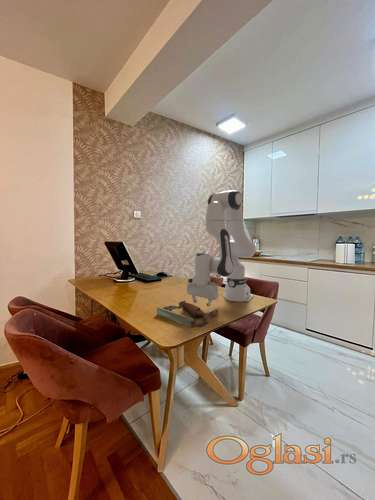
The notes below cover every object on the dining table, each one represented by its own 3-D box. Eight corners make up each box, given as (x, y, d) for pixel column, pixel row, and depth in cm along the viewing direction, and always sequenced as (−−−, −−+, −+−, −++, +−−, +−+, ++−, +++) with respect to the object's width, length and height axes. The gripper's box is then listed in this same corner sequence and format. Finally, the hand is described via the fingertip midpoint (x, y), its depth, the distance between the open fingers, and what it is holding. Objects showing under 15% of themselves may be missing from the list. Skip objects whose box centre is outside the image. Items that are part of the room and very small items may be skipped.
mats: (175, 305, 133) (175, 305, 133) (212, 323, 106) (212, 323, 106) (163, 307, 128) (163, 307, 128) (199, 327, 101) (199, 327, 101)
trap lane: (184, 305, 133) (184, 298, 133) (218, 314, 118) (218, 307, 118) (156, 315, 117) (156, 307, 116) (192, 327, 101) (192, 319, 101)
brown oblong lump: (210, 317, 114) (204, 307, 112) (199, 325, 112) (193, 315, 110) (195, 306, 131) (190, 297, 129) (186, 313, 129) (180, 304, 127)
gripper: (220, 282, 121) (220, 307, 122) (191, 277, 134) (191, 299, 135) (214, 284, 116) (214, 309, 117) (185, 278, 130) (184, 302, 130)
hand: (201, 304), depth 126 cm, fingers open, 8 cm apart
